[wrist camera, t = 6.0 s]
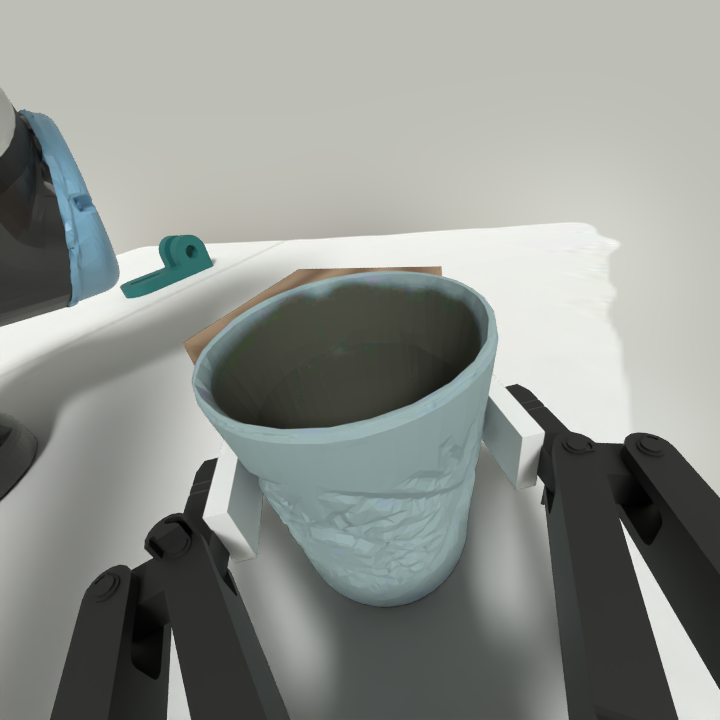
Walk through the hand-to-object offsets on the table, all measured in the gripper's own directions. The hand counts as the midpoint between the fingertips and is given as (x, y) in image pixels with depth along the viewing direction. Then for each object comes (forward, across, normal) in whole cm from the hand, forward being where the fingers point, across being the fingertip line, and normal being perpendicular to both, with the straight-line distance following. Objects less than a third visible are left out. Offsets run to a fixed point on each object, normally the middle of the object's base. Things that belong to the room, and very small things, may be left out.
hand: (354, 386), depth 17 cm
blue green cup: (-3, 0, -7) cm, 8 cm away
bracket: (+62, -33, -8) cm, 70 cm away
